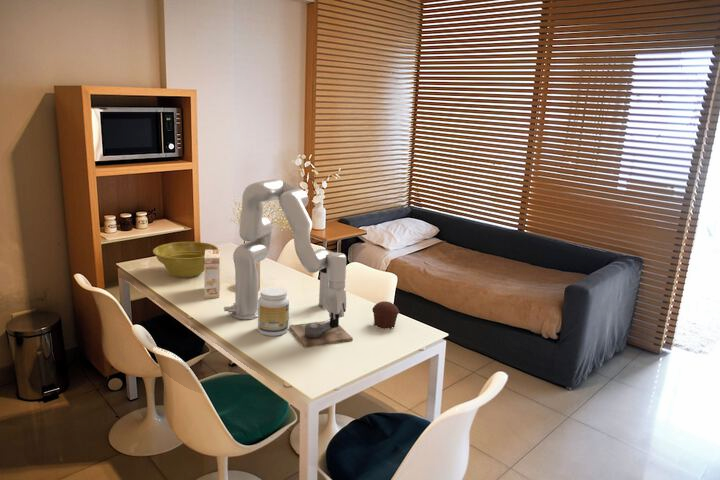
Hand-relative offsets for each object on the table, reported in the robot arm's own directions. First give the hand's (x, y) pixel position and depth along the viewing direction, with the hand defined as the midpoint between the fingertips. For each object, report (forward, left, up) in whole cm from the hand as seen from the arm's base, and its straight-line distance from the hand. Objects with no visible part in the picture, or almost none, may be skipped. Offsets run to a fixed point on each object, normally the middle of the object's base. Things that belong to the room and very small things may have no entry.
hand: (334, 326), depth 213 cm
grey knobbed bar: (-5, 0, -1) cm, 6 cm away
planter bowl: (-45, +93, -3) cm, 104 cm away
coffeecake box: (-37, +61, -3) cm, 72 cm away
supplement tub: (-22, +10, -3) cm, 25 cm away
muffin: (+25, +2, -3) cm, 25 cm away
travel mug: (+9, +30, -3) cm, 31 cm away
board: (-5, +1, -3) cm, 6 cm away
